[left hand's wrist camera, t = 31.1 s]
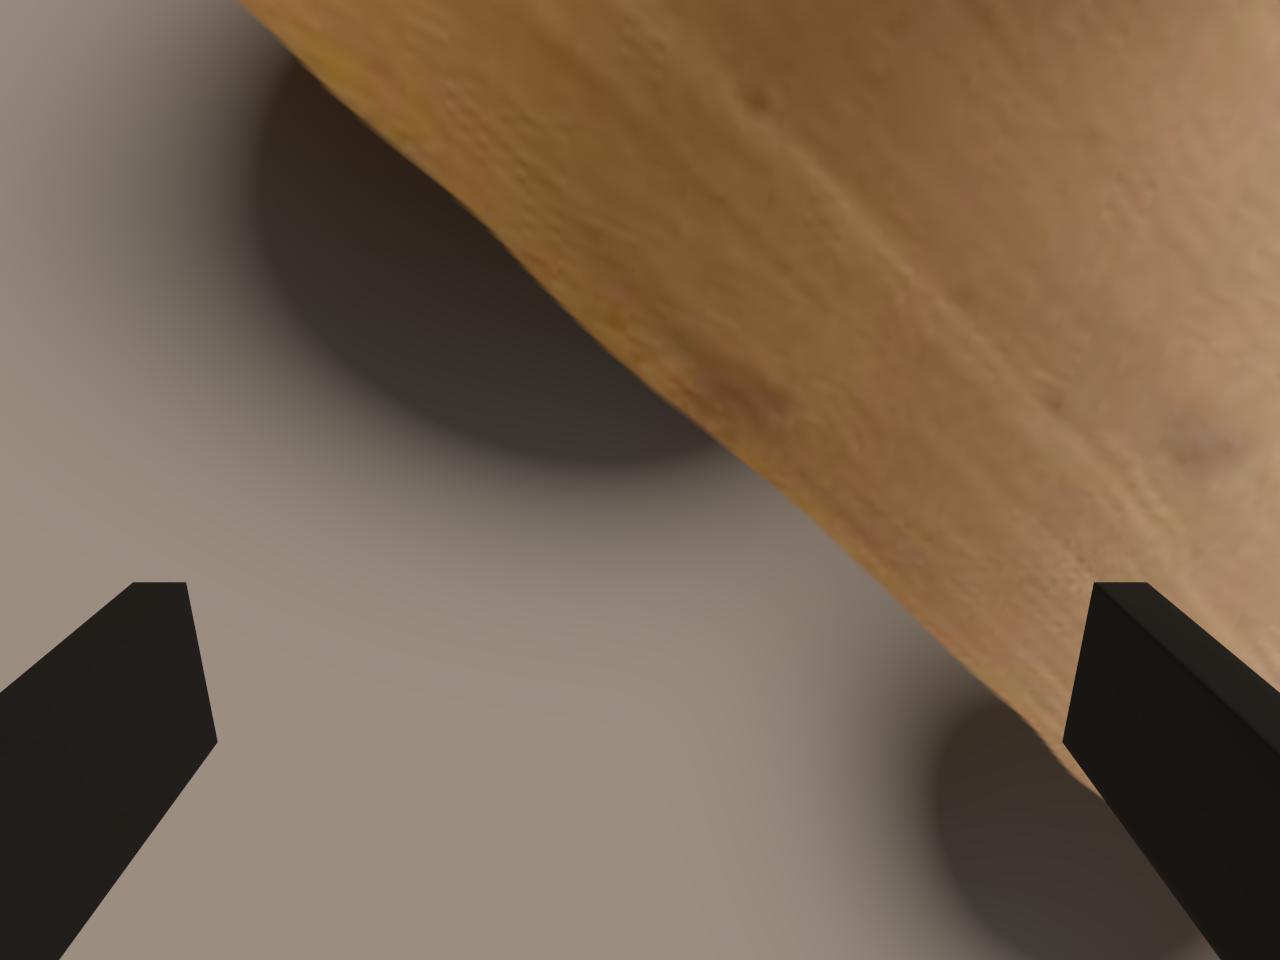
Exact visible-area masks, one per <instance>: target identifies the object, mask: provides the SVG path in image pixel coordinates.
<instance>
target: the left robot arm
mask: <svg viewBox="0 0 1280 960" xmlns="http://www.w3.org/2000/svg"><path fill="white" fill-rule="evenodd" d="M216 744H217V737H216V731H215V726H214V721H213V716H212V711H211V706H210V701H209V696H208V691H207V686H206V681H205V676H204V671H203V666H202V661H201V656H200V650H199V645H198V640H197V635H196V630H195V625H194V620H193V615H192V610H191V605H190V600H189V595H188V590H187V585H186V582H133V583H132V584H131V585H129V586H128V587H127V588H126V589H125V590H123V591H122V592H121V593H120V594H119V595H117V596H116V597H115V598H114V599H113V600H111V601H110V602H109V603H108V604H107V605H105V606H104V607H103V608H102V609H101V610H99V611H98V612H97V613H96V614H95V615H93V616H92V617H91V618H90V619H89V620H87V621H86V622H85V623H84V624H82V625H81V626H80V627H79V628H78V629H76V630H75V631H74V632H73V633H72V634H70V635H69V636H68V637H67V638H66V639H64V640H63V641H62V642H61V643H60V644H58V645H57V646H56V647H55V648H54V649H52V650H51V651H50V652H49V653H48V654H46V655H45V656H44V657H43V658H42V659H40V660H39V661H38V662H37V663H35V664H34V665H33V666H32V667H31V668H29V669H28V670H27V671H26V672H25V673H23V674H22V675H21V676H20V677H19V678H17V679H16V680H15V681H14V682H13V683H11V684H10V685H9V686H8V687H7V688H5V689H4V690H3V691H2V692H1V693H0V960H59V959H60V958H61V957H62V955H63V954H64V952H65V951H66V950H67V948H68V947H69V946H70V944H71V943H72V941H73V940H74V939H75V937H76V936H77V935H78V933H79V932H80V931H81V929H82V928H83V926H84V925H85V924H86V922H87V921H88V920H89V918H90V917H91V915H92V914H93V913H94V911H95V910H96V909H97V907H98V906H99V904H100V903H101V902H102V900H103V899H104V897H105V896H106V895H107V893H108V892H109V891H110V889H111V888H112V886H113V885H114V884H115V882H116V881H117V880H118V878H119V877H120V876H121V874H122V873H123V871H124V870H125V869H126V867H127V866H128V864H129V863H130V862H131V860H132V859H133V858H134V856H135V855H136V853H137V852H138V851H139V849H140V848H141V847H142V845H143V844H144V842H145V841H146V840H147V838H148V837H149V836H150V834H151V833H152V832H153V830H154V829H155V827H156V826H157V825H158V823H159V822H160V820H161V819H162V818H163V816H164V815H165V814H166V812H167V811H168V809H169V808H170V807H171V805H172V804H173V803H174V801H175V800H176V798H177V797H178V796H179V794H180V793H181V792H182V790H183V789H184V788H185V786H186V785H187V783H188V782H189V781H190V779H191V778H192V777H193V775H194V774H195V772H196V771H197V770H198V768H199V767H200V766H201V764H202V763H203V761H204V760H205V759H206V757H207V756H208V755H209V753H210V752H211V750H212V749H213V748H214V746H215V745H216ZM1063 744H1064V745H1065V746H1066V748H1067V749H1068V750H1069V752H1070V753H1071V755H1072V756H1073V757H1074V759H1075V760H1076V761H1077V763H1078V764H1079V766H1080V767H1081V768H1082V770H1083V771H1084V772H1085V774H1086V775H1087V777H1088V778H1089V779H1090V781H1091V782H1092V783H1093V785H1094V786H1095V788H1096V789H1097V790H1098V792H1099V793H1100V794H1101V796H1102V797H1103V799H1104V800H1105V801H1106V803H1107V804H1108V805H1109V807H1110V808H1111V810H1112V811H1113V812H1114V814H1115V815H1116V816H1117V818H1118V819H1119V821H1120V822H1121V823H1122V825H1123V826H1124V827H1125V829H1126V830H1127V832H1128V833H1129V834H1130V836H1131V837H1132V838H1133V840H1134V841H1135V842H1136V844H1137V845H1138V847H1139V848H1140V849H1141V851H1142V852H1143V854H1144V855H1145V856H1146V858H1147V859H1148V860H1149V862H1150V863H1151V865H1152V866H1153V867H1154V869H1155V870H1156V871H1157V873H1158V874H1159V876H1160V877H1161V878H1162V880H1163V881H1164V882H1165V884H1166V885H1167V886H1168V888H1169V889H1170V891H1171V892H1172V893H1173V895H1174V896H1175V897H1176V899H1177V900H1178V902H1179V903H1180V904H1181V906H1182V907H1183V909H1184V910H1185V911H1186V913H1187V914H1188V915H1189V917H1190V918H1191V919H1192V921H1193V922H1194V924H1195V925H1196V926H1197V928H1198V929H1199V930H1200V932H1201V933H1202V934H1203V936H1204V937H1205V939H1206V940H1207V941H1208V943H1209V944H1210V946H1211V947H1212V948H1213V950H1214V951H1215V952H1216V954H1217V955H1218V957H1219V958H1220V959H1221V960H1280V693H1279V692H1278V691H1277V690H1276V689H1275V688H1273V687H1272V686H1271V685H1270V684H1269V683H1267V682H1266V681H1265V680H1264V679H1263V678H1261V677H1260V676H1259V675H1258V674H1257V673H1255V672H1254V671H1253V670H1252V669H1251V668H1249V667H1248V666H1247V665H1246V664H1245V663H1243V662H1242V661H1241V660H1240V659H1238V658H1237V657H1236V656H1235V655H1234V654H1232V653H1231V652H1230V651H1229V650H1228V649H1226V648H1225V647H1224V646H1223V645H1222V644H1220V643H1219V642H1218V641H1217V640H1216V639H1214V638H1213V637H1212V636H1211V635H1210V634H1208V633H1207V632H1206V631H1205V630H1204V629H1202V628H1201V627H1200V626H1199V625H1198V624H1196V623H1195V622H1194V621H1193V620H1192V619H1190V618H1189V617H1188V616H1187V615H1186V614H1184V613H1183V612H1182V611H1181V610H1179V609H1178V608H1177V607H1176V606H1175V605H1173V604H1172V603H1171V602H1170V601H1169V600H1167V599H1166V598H1165V597H1164V596H1163V595H1161V594H1160V593H1159V592H1158V591H1157V590H1155V589H1154V588H1153V587H1152V586H1151V585H1149V584H1148V583H1147V582H1094V585H1093V590H1092V595H1091V600H1090V605H1089V610H1088V615H1087V620H1086V625H1085V630H1084V635H1083V640H1082V645H1081V650H1080V656H1079V661H1078V666H1077V671H1076V676H1075V681H1074V686H1073V691H1072V696H1071V701H1070V706H1069V711H1068V716H1067V721H1066V726H1065V731H1064V737H1063Z"/></svg>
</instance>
